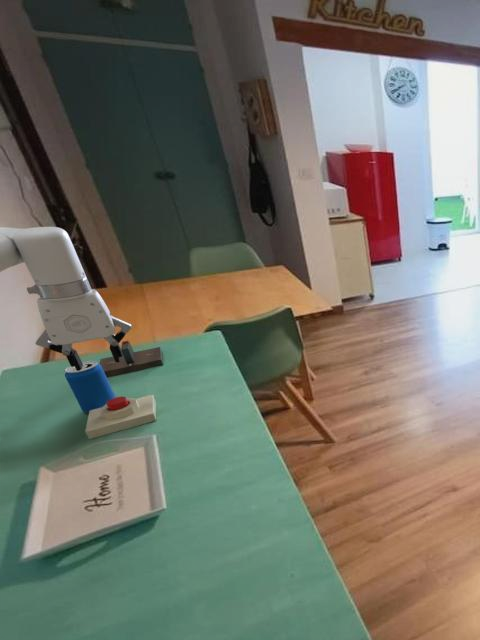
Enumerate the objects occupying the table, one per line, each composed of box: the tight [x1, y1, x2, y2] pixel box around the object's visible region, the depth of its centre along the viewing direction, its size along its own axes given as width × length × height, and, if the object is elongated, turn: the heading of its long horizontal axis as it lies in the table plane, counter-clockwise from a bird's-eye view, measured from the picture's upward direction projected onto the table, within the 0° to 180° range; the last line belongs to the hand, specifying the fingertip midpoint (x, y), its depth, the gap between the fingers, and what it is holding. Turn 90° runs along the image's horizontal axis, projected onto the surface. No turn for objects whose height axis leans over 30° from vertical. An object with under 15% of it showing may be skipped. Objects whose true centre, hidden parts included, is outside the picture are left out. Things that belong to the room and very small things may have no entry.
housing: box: [84, 394, 157, 440], centre depth 100 cm, size 12×10×4 cm
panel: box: [98, 346, 164, 378], centre depth 124 cm, size 14×10×2 cm
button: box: [106, 396, 129, 411], centre depth 99 cm, size 4×4×2 cm
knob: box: [120, 340, 135, 364], centre depth 122 cm, size 6×2×5 cm, turn 37°
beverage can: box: [64, 360, 117, 414], centre depth 102 cm, size 6×6×12 cm
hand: (99, 363), depth 94 cm, fingers open, 5 cm apart
